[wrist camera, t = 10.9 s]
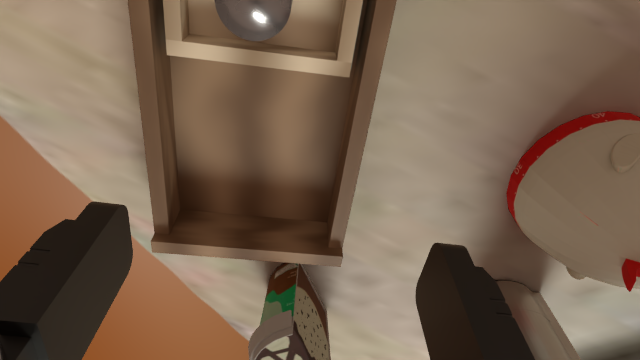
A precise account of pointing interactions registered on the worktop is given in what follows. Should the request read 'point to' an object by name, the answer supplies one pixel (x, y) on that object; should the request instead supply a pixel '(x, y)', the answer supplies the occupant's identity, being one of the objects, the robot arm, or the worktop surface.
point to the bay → (253, 146)
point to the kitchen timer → (584, 197)
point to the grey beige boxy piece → (266, 33)
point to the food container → (291, 319)
